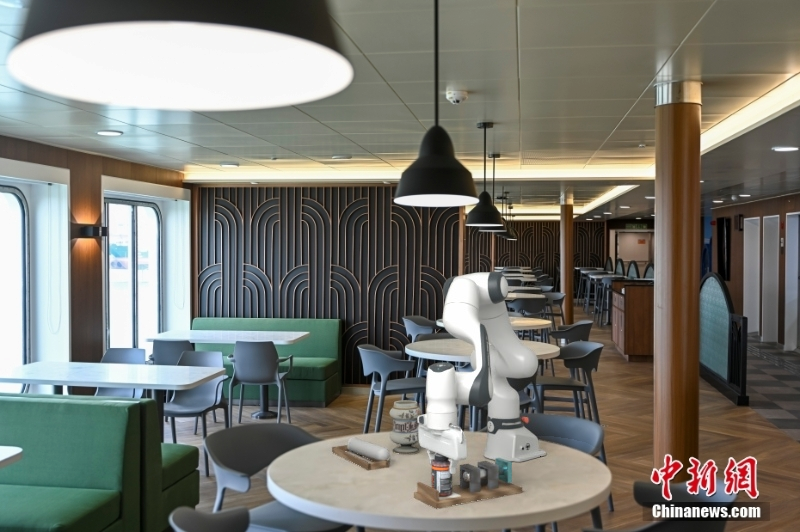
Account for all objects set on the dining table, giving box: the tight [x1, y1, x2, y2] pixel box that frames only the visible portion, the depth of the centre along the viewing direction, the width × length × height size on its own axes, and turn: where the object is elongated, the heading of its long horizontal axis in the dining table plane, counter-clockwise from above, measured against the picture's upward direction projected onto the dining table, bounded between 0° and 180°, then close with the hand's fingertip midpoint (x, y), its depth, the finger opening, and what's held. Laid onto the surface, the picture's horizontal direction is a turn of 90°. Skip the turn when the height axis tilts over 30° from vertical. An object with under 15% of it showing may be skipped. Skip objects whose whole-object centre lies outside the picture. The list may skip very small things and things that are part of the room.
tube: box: [346, 436, 391, 461], centre depth 257 cm, size 5×5×25 cm
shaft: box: [463, 458, 513, 483], centre depth 217 cm, size 15×6×6 cm, turn 120°
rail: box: [413, 460, 523, 510], centre depth 214 cm, size 30×12×8 cm, turn 120°
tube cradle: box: [331, 444, 390, 471], centre depth 256 cm, size 8×28×2 cm, turn 30°
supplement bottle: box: [430, 452, 453, 496], centre depth 209 cm, size 6×6×11 cm
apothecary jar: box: [389, 399, 423, 455], centre depth 267 cm, size 12×12×18 cm
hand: (442, 469), depth 210 cm, fingers open, 8 cm apart
